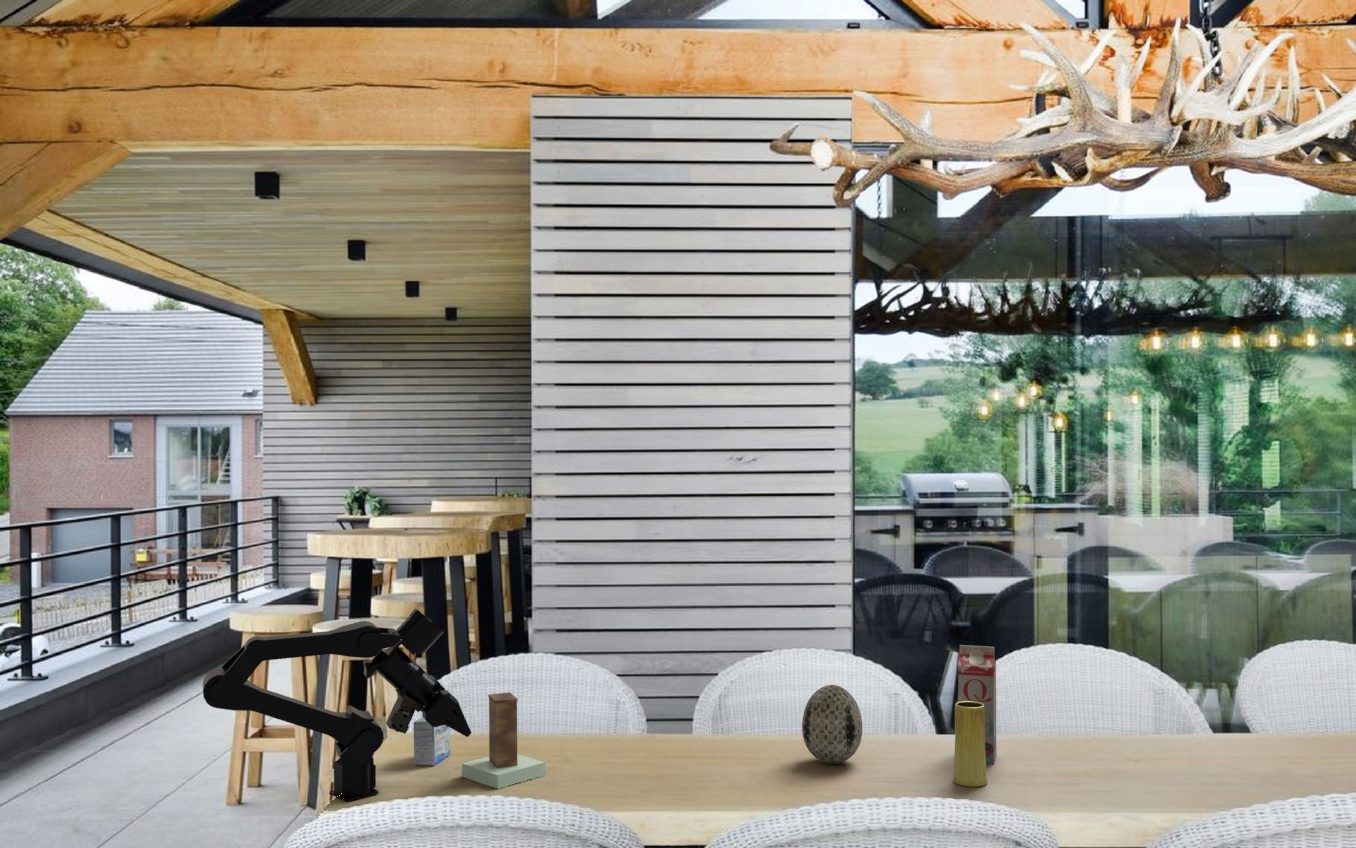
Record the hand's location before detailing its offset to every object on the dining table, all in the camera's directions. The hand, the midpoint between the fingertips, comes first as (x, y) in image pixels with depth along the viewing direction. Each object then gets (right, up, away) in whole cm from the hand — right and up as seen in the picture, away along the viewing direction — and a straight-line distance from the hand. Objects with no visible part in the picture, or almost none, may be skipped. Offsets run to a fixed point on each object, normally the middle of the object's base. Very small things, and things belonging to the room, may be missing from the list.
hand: (464, 729), depth 217 cm
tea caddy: (+7, -7, +3) cm, 10 cm away
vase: (+93, -9, -3) cm, 94 cm away
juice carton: (+99, -9, +13) cm, 100 cm away
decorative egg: (+70, -9, +10) cm, 71 cm away
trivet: (+7, -10, +3) cm, 12 cm away
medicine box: (-9, -10, +14) cm, 19 cm away
